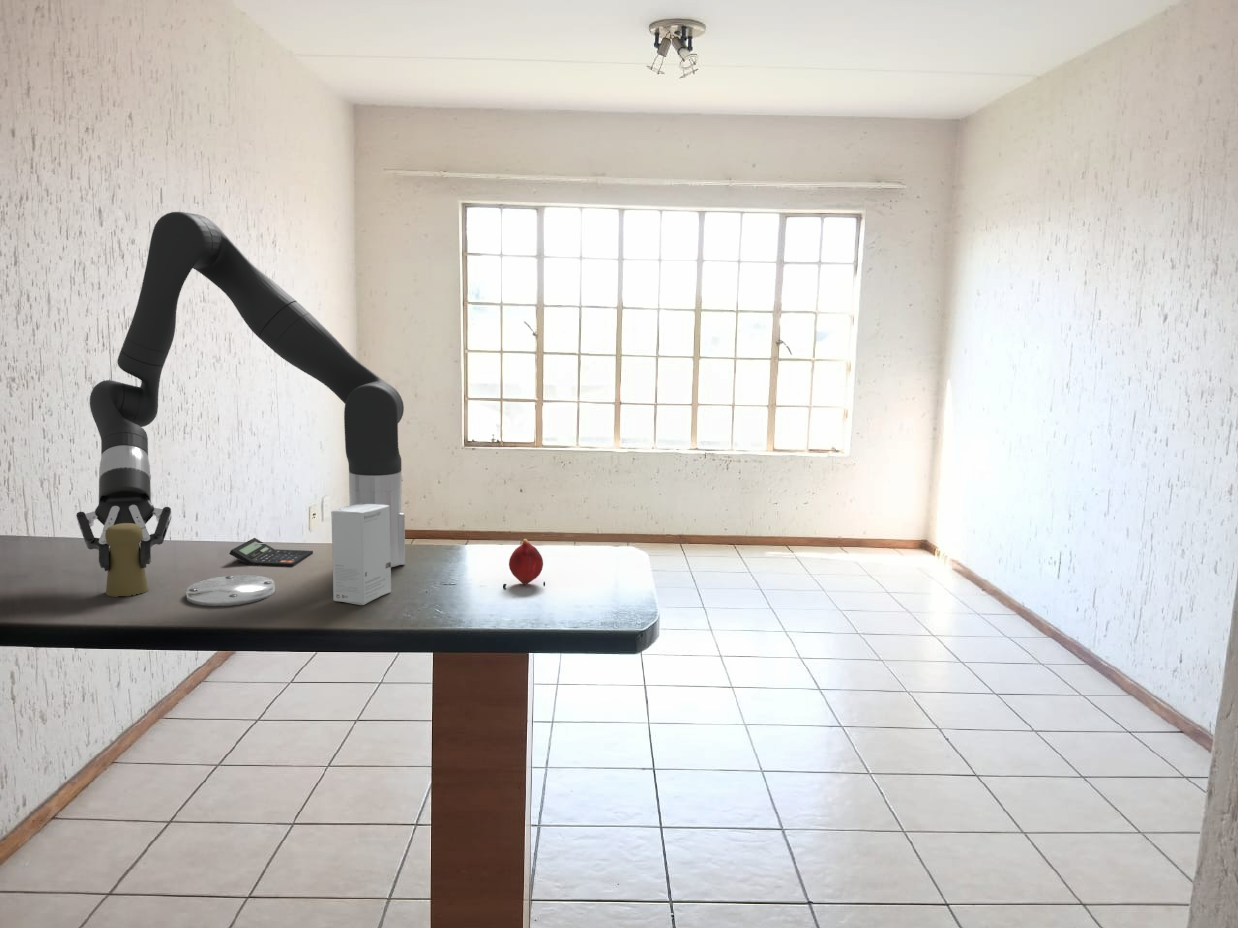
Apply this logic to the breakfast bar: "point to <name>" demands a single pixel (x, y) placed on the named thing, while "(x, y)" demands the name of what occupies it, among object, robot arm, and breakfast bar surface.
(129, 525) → the cork
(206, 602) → the flange
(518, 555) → the onion
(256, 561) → the calculator
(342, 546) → the skincare box
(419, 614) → the breakfast bar surface
